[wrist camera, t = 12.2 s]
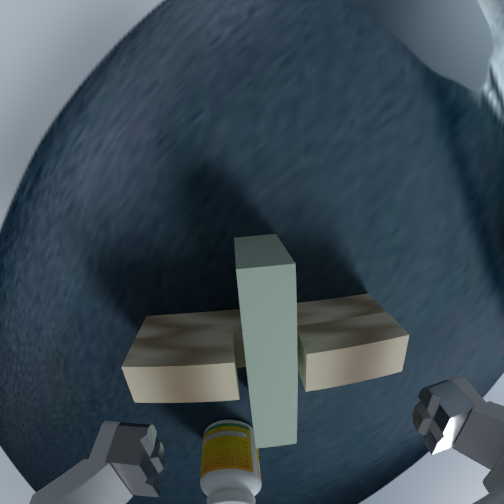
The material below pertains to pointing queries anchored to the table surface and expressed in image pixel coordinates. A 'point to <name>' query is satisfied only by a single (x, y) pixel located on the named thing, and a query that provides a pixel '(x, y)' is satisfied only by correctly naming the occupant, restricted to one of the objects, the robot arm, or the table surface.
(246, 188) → the table surface
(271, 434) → the green rectangular block
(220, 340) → the birch bridge block
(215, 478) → the supplement bottle
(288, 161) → the table surface
